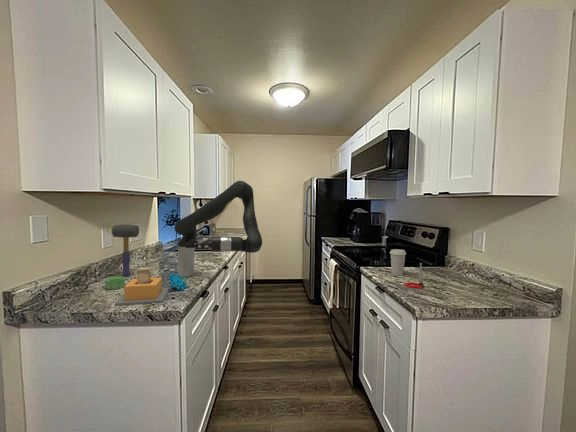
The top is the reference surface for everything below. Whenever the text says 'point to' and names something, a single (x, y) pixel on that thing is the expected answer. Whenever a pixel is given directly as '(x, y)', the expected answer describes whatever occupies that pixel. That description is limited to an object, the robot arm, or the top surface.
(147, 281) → the tall wooden block
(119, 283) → the ramekin
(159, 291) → the orange square frame
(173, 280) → the gear
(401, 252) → the coffee cup
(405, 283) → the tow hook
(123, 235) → the rubber mallet
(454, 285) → the top surface
